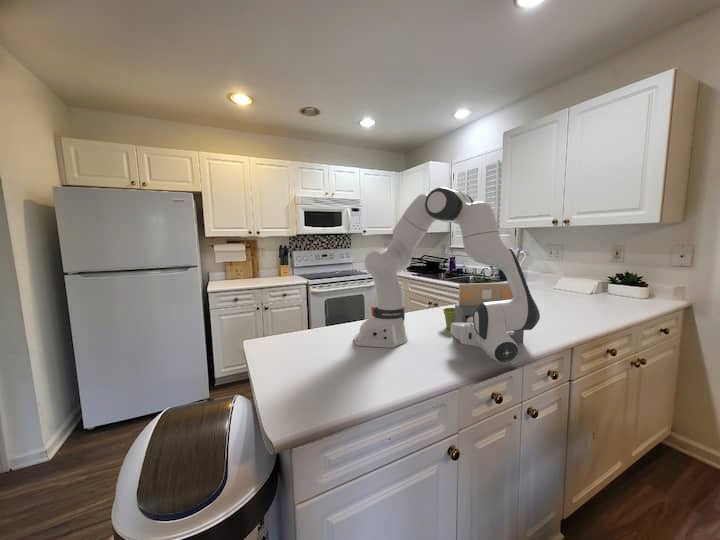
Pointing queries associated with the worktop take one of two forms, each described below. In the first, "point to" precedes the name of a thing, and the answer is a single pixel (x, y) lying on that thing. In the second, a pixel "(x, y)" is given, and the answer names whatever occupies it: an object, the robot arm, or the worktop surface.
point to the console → (482, 301)
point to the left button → (469, 318)
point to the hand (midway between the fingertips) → (472, 322)
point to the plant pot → (449, 316)
